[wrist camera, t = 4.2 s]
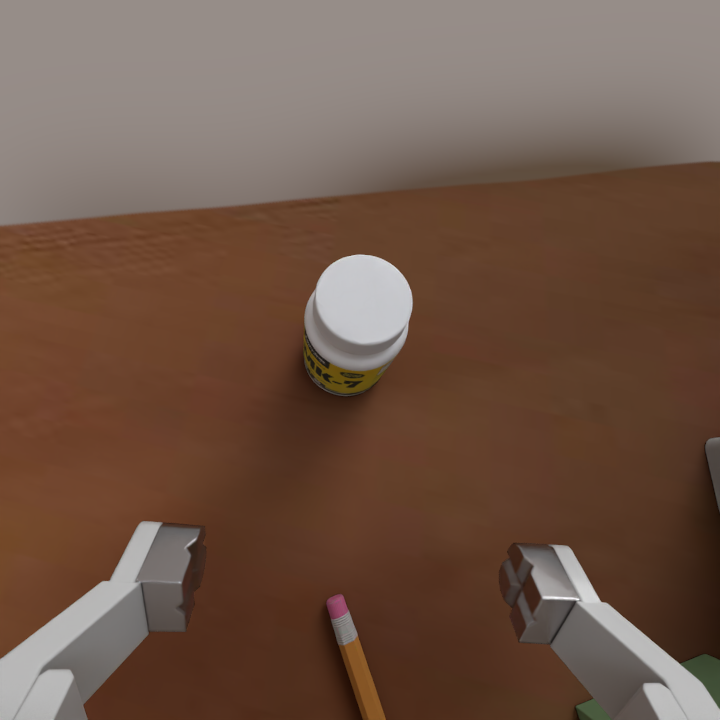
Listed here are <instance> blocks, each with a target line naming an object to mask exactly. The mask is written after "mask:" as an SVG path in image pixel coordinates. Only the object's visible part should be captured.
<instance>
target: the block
mask: <svg viewBox="0 0 720 720" xmlns="http://www.w3.org/2000/svg"><path fill="white" fill-rule="evenodd" d="M680 665H681V666H683V667H684V668H685V669H686V670H687V671H689V672H690V673H691V674H692V675H693V676H695V677H696V678H697V679H698V680H699V681H701V682H702V683H703V685H704V686H705V688H706V689H707V691H708V692H709V694H710V695H711V697H712V699H713V700H714V702H715V703H716V705H717V706H718V708H719V709H720V660H719V659H717V658H714V657H712V656H709V655H707V654H703V655H700V656H698V657H695V658H693V659H690V660H688V661H685V662H683V663H681V664H680ZM576 710H577V713H578V716H579V719H580V720H612V719H611V718H610V717H609V715H608V714H607V713H606V712H605V711H604V710H603V708H602V707H601V706H600V705H599V704H598V702H597V701H596V700H595V699H592V700H589V701H587V702H584V703H582V704H579V705H577V706H576Z"/></svg>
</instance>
